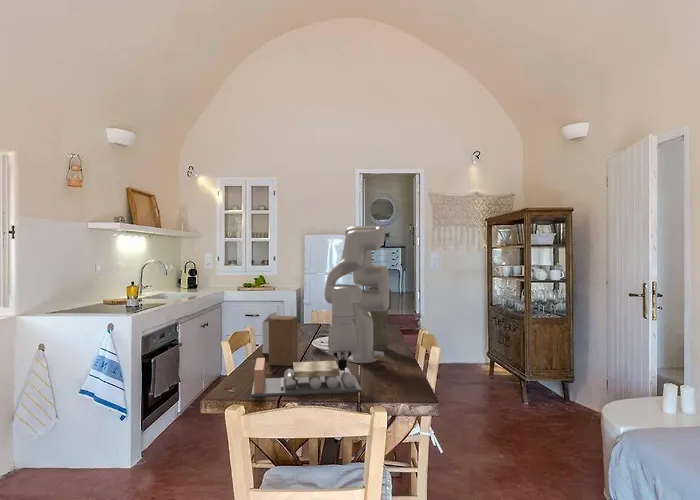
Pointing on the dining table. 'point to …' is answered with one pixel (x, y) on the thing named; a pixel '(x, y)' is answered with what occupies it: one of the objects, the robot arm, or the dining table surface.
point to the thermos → (380, 326)
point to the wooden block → (283, 340)
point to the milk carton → (267, 332)
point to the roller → (289, 379)
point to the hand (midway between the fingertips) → (342, 369)
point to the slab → (315, 369)
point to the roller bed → (302, 383)
